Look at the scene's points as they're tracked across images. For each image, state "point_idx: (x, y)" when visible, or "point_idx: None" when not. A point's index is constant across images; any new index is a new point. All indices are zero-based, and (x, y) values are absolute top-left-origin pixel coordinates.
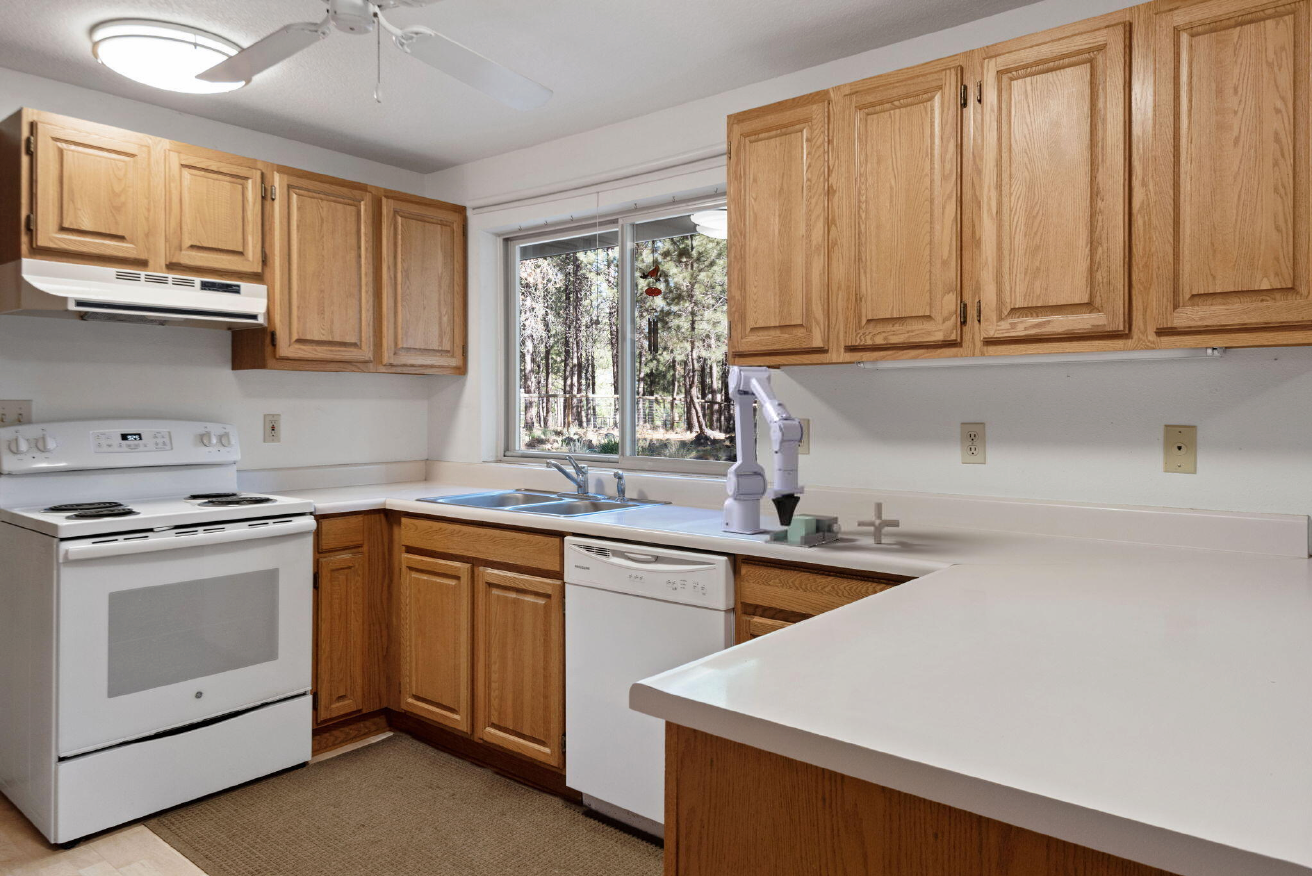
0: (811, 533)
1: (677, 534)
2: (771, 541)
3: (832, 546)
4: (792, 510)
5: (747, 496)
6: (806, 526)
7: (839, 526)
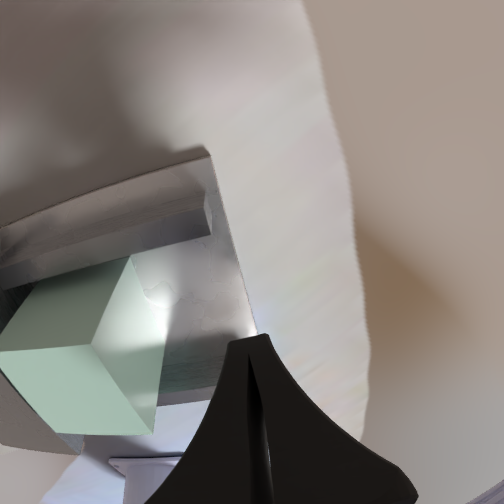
0: (77, 267)
1: None
2: None
3: (59, 117)
4: (246, 424)
5: None
6: (90, 311)
7: None
